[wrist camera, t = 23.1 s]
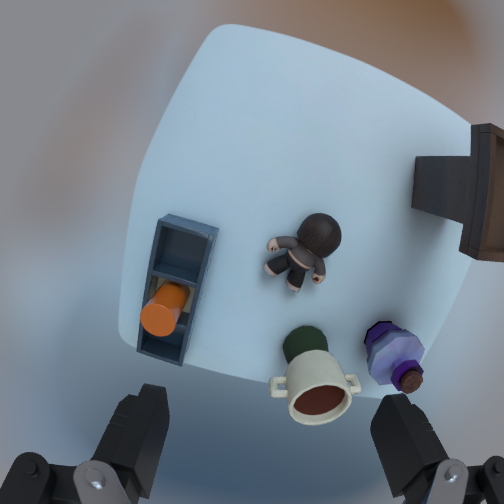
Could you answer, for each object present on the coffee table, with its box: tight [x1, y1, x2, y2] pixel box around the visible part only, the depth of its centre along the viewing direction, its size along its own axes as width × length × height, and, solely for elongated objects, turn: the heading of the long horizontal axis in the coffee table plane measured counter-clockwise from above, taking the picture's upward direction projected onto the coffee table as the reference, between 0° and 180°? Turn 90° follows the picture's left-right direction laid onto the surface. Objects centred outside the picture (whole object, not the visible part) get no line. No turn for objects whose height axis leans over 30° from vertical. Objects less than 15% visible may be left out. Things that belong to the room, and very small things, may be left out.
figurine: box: [262, 213, 341, 293], centre depth 34 cm, size 8×5×10 cm
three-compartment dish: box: [137, 214, 219, 366], centre depth 36 cm, size 7×19×4 cm, turn 163°
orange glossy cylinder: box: [140, 279, 190, 337], centre depth 33 cm, size 4×4×8 cm
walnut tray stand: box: [411, 123, 504, 262], centre depth 25 cm, size 14×11×18 cm
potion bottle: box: [364, 321, 425, 394], centre depth 34 cm, size 9×9×12 cm
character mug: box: [269, 326, 361, 425], centre depth 34 cm, size 11×7×13 cm, turn 88°
